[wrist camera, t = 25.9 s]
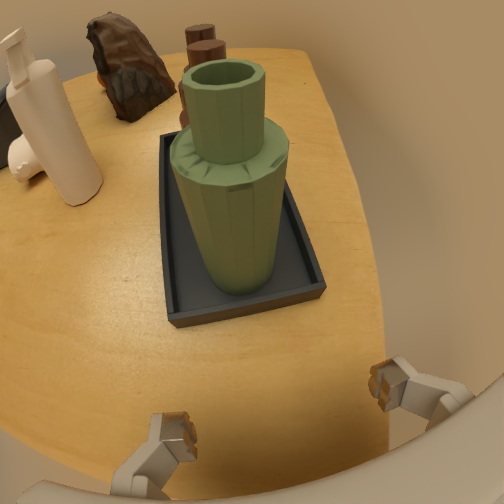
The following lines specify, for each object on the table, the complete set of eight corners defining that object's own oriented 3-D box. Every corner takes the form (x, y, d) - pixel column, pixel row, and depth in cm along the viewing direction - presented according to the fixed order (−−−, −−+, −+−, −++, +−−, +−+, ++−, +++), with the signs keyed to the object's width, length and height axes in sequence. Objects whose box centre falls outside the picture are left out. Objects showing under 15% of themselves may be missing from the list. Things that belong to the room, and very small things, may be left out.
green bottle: (280, 287, 24) (320, 97, 8) (213, 301, 24) (145, 121, 8) (264, 231, 27) (272, 47, 11) (203, 243, 26) (155, 63, 10)
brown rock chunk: (130, 128, 38) (96, 21, 20) (92, 118, 41) (61, 33, 23) (179, 91, 43) (163, -4, 25) (137, 85, 46) (118, 6, 29)
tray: (319, 297, 24) (327, 286, 22) (177, 328, 23) (167, 320, 21) (258, 133, 36) (258, 117, 33) (164, 150, 34) (159, 135, 32)
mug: (67, 169, 34) (45, 132, 27) (25, 193, 32) (1, 161, 25) (74, 131, 39) (58, 99, 32) (36, 152, 38) (19, 123, 31)
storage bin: (22, 124, 46) (2, 86, 33) (63, 105, 46) (44, 60, 34) (-14, 182, 36) (-44, 140, 23) (26, 163, 36) (-6, 110, 24)
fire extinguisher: (97, 151, 35) (43, 14, 14) (112, 197, 31) (31, 17, 9) (62, 172, 34) (-3, 44, 12) (69, 223, 29) (-31, 63, 7)
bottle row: (255, 224, 27) (254, 50, 12) (205, 234, 27) (164, 63, 11) (234, 153, 32) (226, 18, 17) (195, 161, 32) (169, 27, 17)
